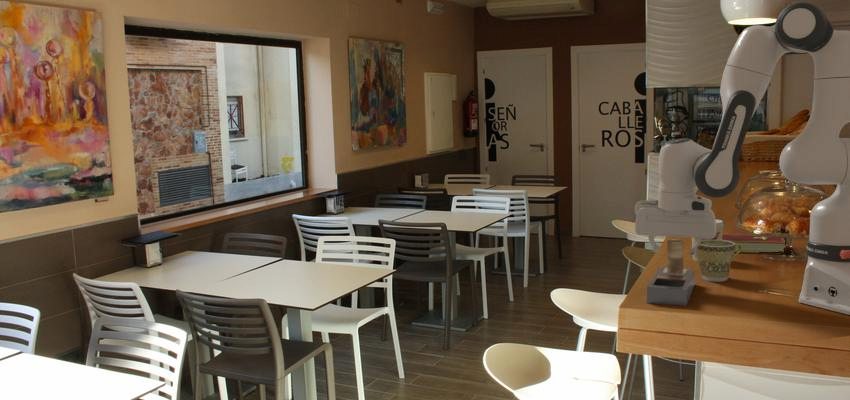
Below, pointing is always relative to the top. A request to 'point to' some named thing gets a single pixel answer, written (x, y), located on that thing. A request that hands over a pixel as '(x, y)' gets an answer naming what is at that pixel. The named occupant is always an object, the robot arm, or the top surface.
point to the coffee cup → (718, 237)
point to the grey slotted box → (671, 287)
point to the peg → (675, 256)
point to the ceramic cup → (716, 259)
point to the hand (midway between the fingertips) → (674, 253)
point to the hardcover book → (756, 243)
